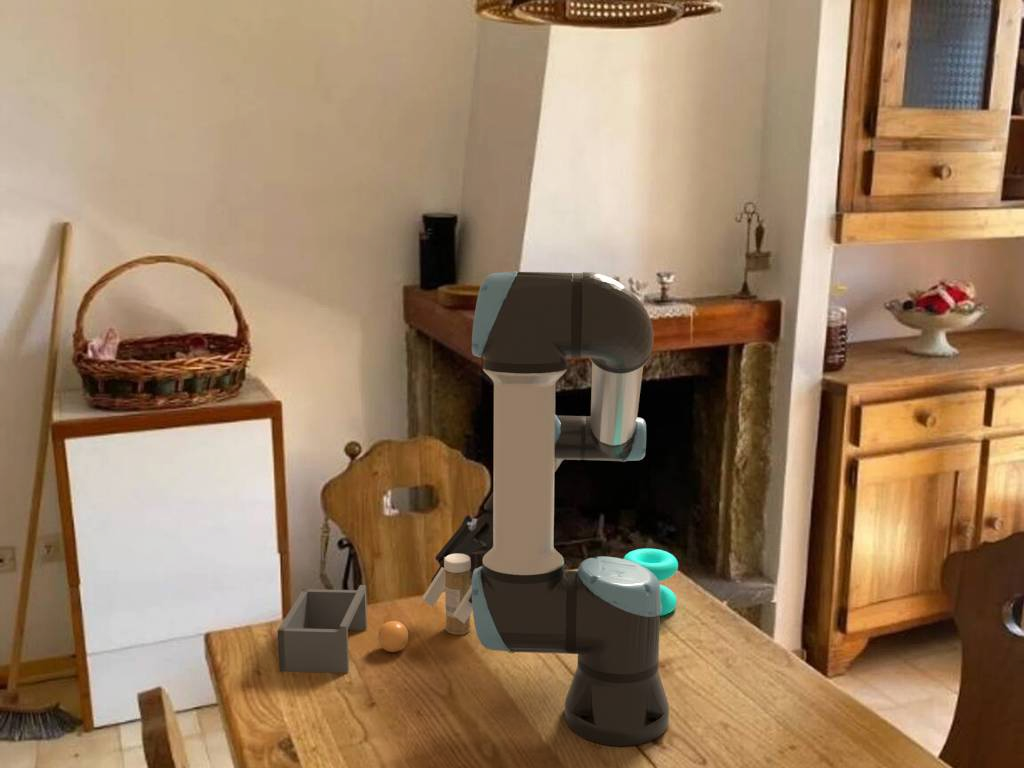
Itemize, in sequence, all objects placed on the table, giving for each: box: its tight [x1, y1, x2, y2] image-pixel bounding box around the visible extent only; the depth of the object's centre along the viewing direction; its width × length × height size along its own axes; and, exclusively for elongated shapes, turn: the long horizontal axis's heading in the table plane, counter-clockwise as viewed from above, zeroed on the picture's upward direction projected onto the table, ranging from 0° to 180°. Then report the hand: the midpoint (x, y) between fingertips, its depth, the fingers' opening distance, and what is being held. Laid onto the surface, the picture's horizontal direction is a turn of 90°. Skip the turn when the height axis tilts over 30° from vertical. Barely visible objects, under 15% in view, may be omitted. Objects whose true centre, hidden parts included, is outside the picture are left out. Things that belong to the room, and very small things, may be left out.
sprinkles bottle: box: [444, 554, 472, 636], centre depth 170 cm, size 5×5×14 cm
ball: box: [377, 620, 409, 653], centre depth 163 cm, size 5×5×5 cm
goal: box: [276, 584, 368, 674], centre depth 164 cm, size 16×11×8 cm
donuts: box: [623, 548, 679, 617], centre depth 179 cm, size 10×10×10 cm
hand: (442, 610), depth 168 cm, fingers open, 8 cm apart
